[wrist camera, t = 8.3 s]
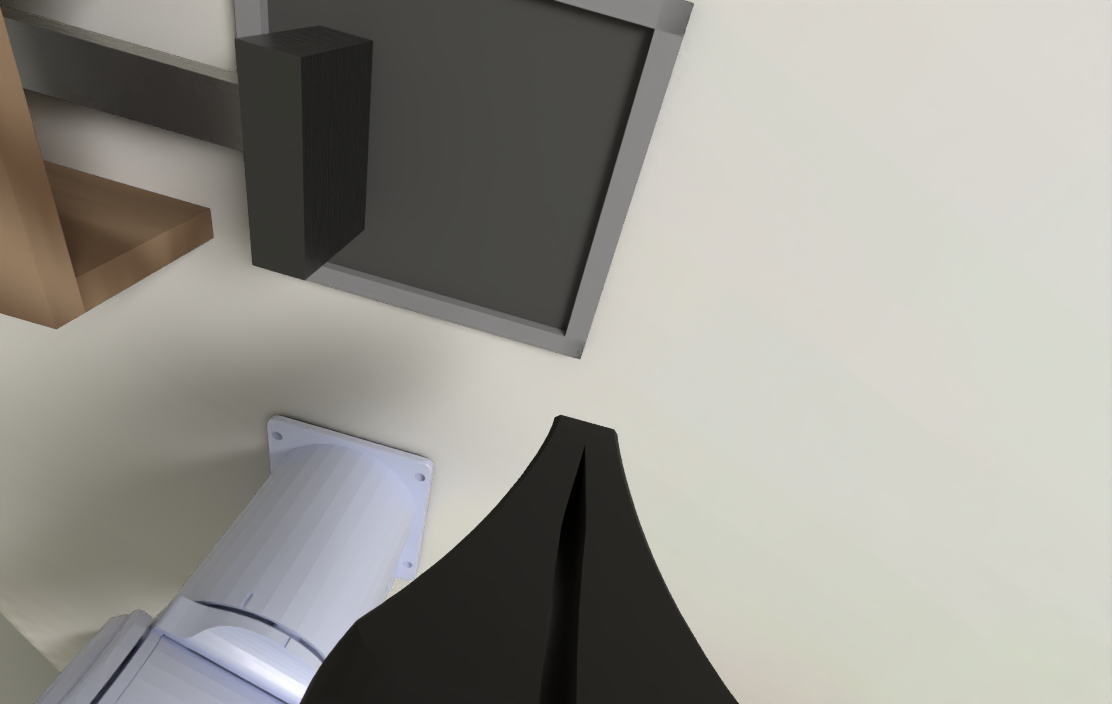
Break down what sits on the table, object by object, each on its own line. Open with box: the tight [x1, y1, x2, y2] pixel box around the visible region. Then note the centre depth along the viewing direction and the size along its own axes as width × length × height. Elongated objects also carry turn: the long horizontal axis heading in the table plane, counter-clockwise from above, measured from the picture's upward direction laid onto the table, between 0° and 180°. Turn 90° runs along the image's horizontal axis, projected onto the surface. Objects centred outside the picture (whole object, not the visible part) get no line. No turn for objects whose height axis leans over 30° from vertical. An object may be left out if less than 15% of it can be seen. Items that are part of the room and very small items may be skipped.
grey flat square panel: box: [234, 0, 694, 359], centre depth 19 cm, size 12×13×1 cm
